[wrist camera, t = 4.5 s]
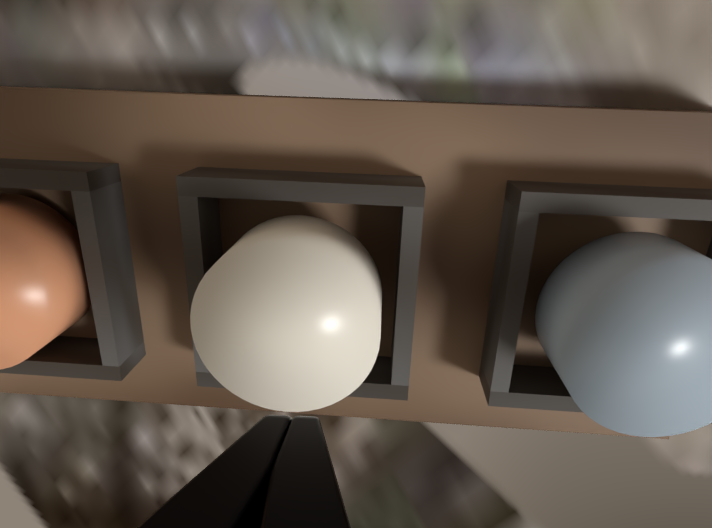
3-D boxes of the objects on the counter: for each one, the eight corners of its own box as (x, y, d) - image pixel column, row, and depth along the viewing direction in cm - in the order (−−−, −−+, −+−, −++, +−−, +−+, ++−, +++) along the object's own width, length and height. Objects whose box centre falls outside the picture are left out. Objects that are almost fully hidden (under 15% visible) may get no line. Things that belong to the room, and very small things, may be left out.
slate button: (684, 387, 13) (739, 443, 11) (523, 377, 13) (547, 429, 11) (733, 235, 11) (808, 267, 9) (550, 227, 12) (584, 256, 10)
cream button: (378, 367, 13) (376, 418, 11) (227, 358, 14) (198, 405, 12) (386, 219, 12) (385, 246, 10) (216, 211, 12) (181, 235, 10)
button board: (638, 400, 17) (696, 474, 14) (19, 359, 18) (-62, 418, 15) (721, 111, 14) (827, 118, 10) (-51, 84, 15) (-177, 83, 11)
